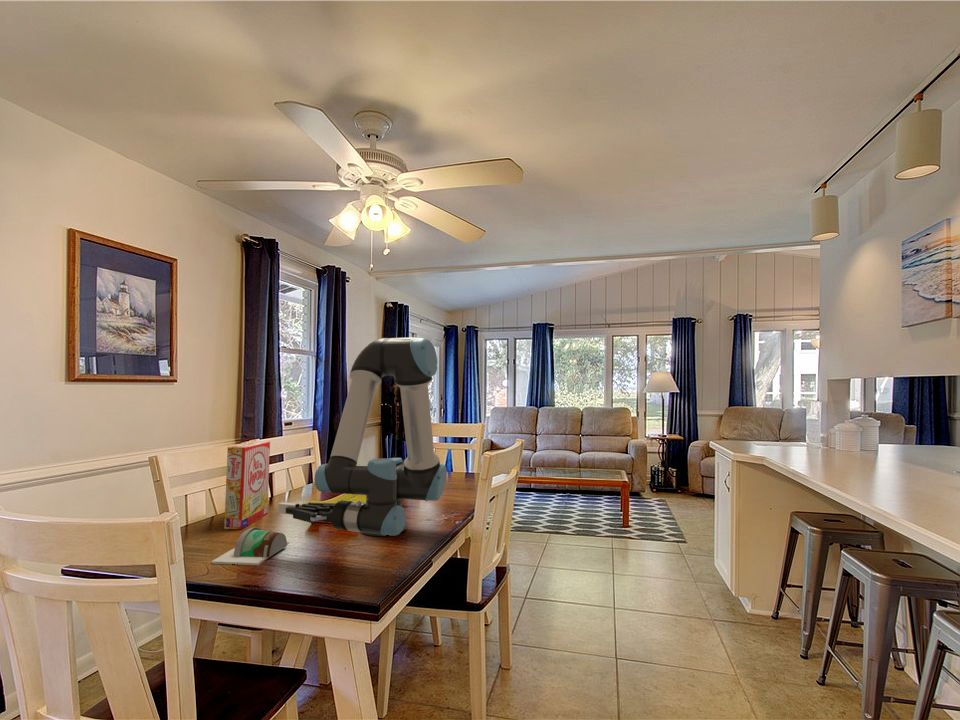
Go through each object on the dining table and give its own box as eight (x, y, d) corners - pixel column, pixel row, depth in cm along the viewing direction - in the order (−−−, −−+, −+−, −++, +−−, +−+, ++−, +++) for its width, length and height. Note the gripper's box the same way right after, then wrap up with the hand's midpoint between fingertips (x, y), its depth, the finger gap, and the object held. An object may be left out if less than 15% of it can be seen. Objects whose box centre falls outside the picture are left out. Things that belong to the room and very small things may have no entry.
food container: (266, 536, 136) (233, 534, 138) (266, 558, 136) (232, 556, 137) (290, 523, 148) (259, 521, 150) (289, 544, 148) (258, 542, 149)
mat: (288, 543, 150) (288, 541, 151) (257, 565, 133) (257, 563, 133) (247, 542, 151) (247, 540, 152) (211, 563, 134) (211, 561, 134)
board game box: (242, 530, 164) (244, 447, 165) (223, 529, 164) (225, 447, 165) (268, 513, 185) (270, 440, 186) (251, 513, 185) (253, 440, 186)
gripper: (364, 496, 141) (295, 489, 149) (336, 508, 129) (263, 500, 137) (363, 522, 141) (295, 514, 149) (336, 537, 129) (263, 527, 137)
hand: (280, 507), depth 143 cm, fingers closed
